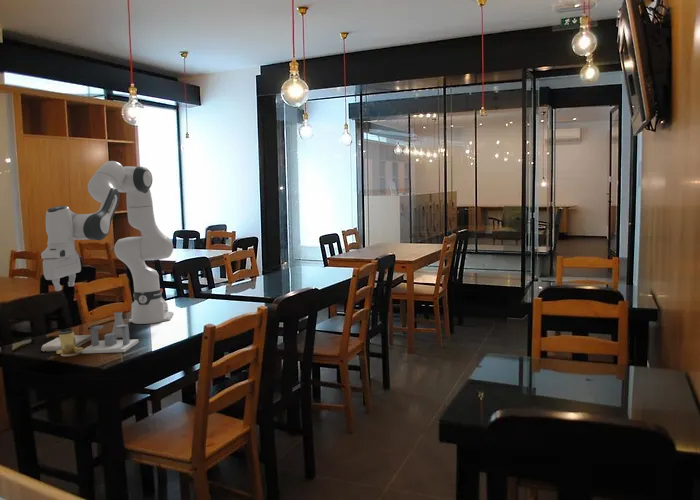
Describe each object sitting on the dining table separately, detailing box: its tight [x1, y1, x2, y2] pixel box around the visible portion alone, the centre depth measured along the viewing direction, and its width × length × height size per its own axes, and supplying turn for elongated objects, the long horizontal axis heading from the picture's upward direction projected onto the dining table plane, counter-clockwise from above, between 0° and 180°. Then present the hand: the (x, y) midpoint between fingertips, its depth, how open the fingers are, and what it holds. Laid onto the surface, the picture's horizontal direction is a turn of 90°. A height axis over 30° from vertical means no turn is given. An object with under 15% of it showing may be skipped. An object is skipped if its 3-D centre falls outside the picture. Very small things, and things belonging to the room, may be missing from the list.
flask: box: [111, 311, 130, 339], centre depth 243 cm, size 7×7×10 cm
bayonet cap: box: [55, 330, 84, 355], centre depth 218 cm, size 5×9×8 cm, turn 84°
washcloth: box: [40, 334, 91, 352], centre depth 232 cm, size 12×18×3 cm, turn 179°
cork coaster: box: [60, 351, 83, 357], centre depth 219 cm, size 7×7×1 cm
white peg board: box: [81, 324, 140, 354], centre depth 225 cm, size 14×16×8 cm
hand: (65, 288), depth 216 cm, fingers open, 8 cm apart
